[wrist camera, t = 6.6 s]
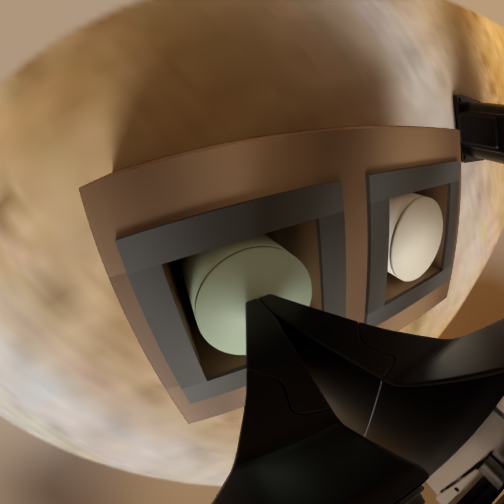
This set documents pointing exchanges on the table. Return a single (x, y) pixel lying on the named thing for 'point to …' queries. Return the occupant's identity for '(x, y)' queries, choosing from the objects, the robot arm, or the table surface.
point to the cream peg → (413, 235)
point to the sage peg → (240, 286)
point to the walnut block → (271, 235)
